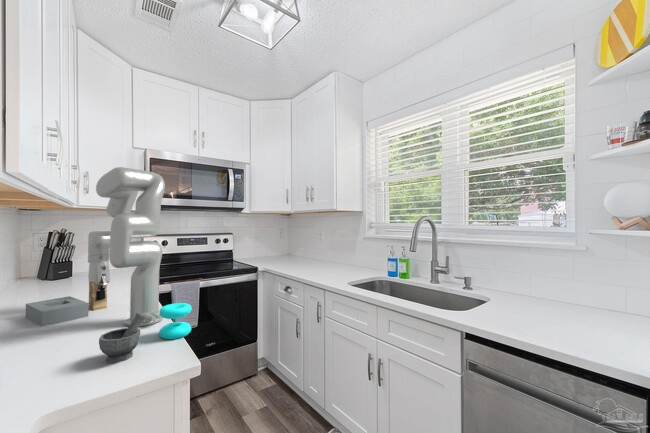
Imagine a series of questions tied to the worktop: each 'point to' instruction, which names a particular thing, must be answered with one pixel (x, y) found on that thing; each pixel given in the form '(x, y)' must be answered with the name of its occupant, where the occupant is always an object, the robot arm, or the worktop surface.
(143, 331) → the worktop surface
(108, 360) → the mortar and pestle
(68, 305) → the well block
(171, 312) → the donuts
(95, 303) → the oak post
